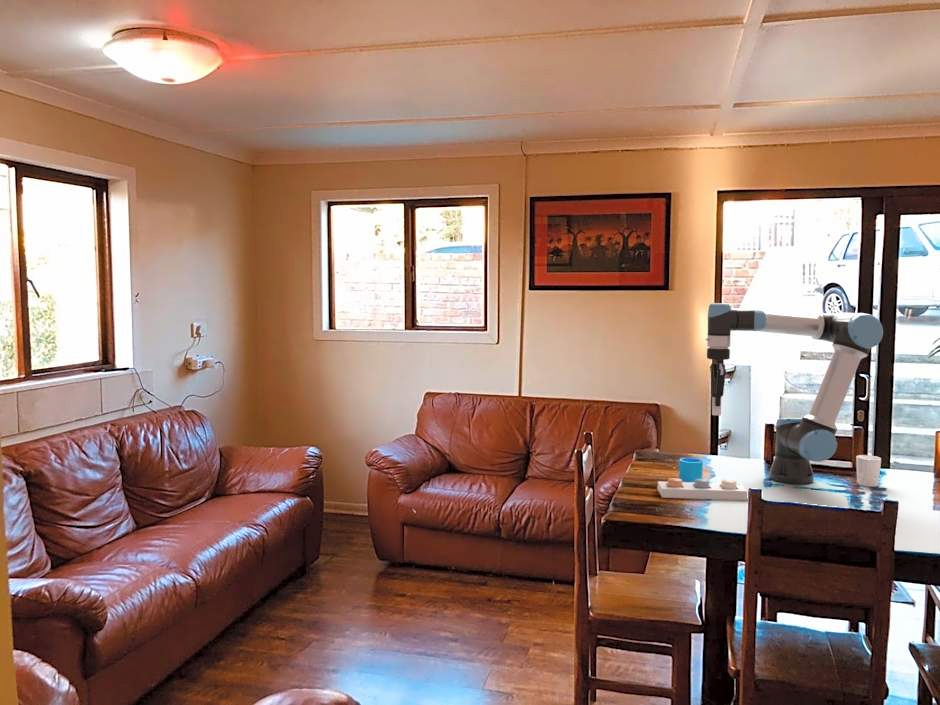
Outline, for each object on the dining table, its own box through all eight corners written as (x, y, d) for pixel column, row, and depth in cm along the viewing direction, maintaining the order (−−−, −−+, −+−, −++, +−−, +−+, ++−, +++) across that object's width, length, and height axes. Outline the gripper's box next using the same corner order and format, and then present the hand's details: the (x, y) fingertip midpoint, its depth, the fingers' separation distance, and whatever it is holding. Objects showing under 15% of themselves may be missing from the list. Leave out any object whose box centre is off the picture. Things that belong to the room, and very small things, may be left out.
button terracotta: (680, 489, 254) (680, 478, 254) (683, 493, 249) (683, 481, 249) (666, 489, 254) (666, 477, 254) (668, 492, 250) (669, 481, 249)
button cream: (734, 491, 252) (734, 479, 252) (737, 494, 247) (738, 483, 247) (719, 490, 253) (720, 479, 252) (723, 494, 248) (723, 482, 248)
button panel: (739, 492, 255) (740, 483, 254) (747, 500, 245) (748, 491, 244) (657, 489, 257) (657, 481, 257) (662, 497, 247) (662, 488, 247)
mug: (706, 484, 265) (707, 462, 264) (686, 485, 263) (686, 463, 262) (688, 476, 277) (689, 455, 276) (669, 477, 275) (669, 456, 274)
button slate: (707, 490, 253) (707, 478, 253) (710, 494, 248) (710, 482, 248) (692, 489, 253) (693, 478, 253) (695, 493, 249) (696, 482, 248)
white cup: (878, 483, 268) (880, 456, 267) (880, 488, 260) (882, 460, 260) (854, 480, 271) (855, 454, 270) (855, 485, 264) (857, 458, 263)
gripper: (703, 346, 261) (701, 411, 263) (711, 349, 248) (709, 418, 250) (724, 346, 260) (722, 412, 262) (734, 349, 248) (732, 418, 249)
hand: (716, 415), depth 256 cm, fingers closed
